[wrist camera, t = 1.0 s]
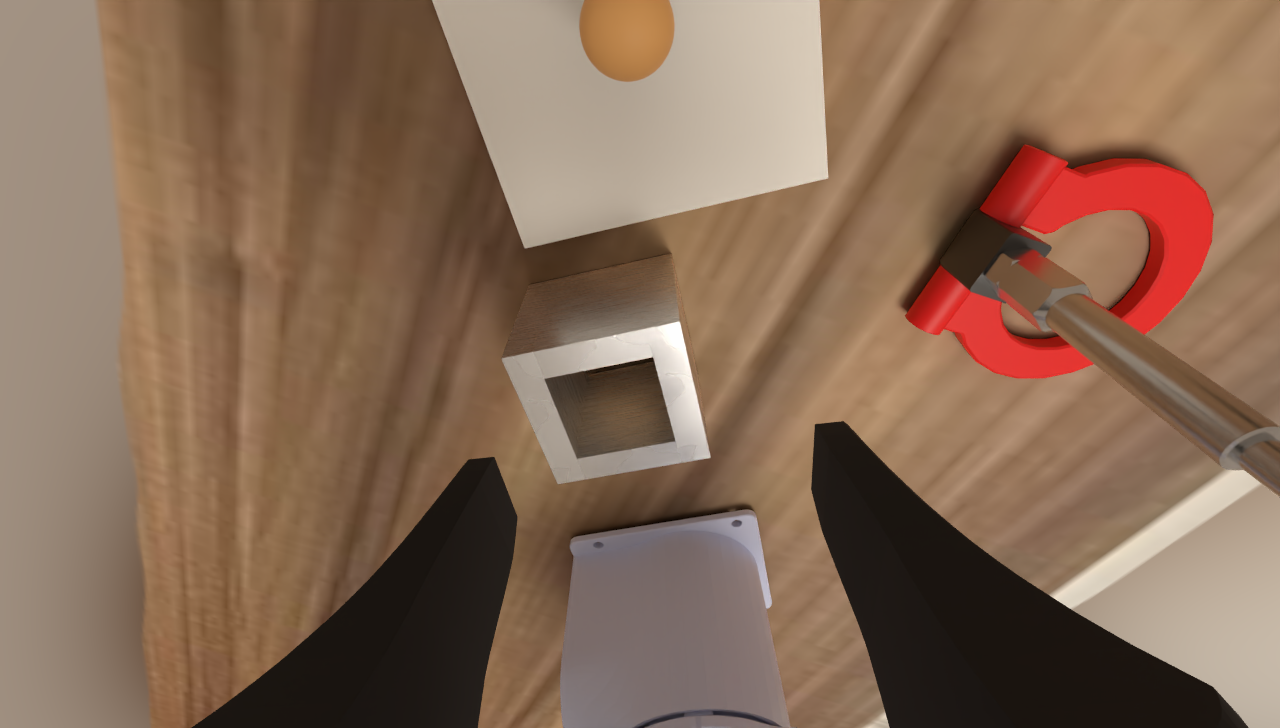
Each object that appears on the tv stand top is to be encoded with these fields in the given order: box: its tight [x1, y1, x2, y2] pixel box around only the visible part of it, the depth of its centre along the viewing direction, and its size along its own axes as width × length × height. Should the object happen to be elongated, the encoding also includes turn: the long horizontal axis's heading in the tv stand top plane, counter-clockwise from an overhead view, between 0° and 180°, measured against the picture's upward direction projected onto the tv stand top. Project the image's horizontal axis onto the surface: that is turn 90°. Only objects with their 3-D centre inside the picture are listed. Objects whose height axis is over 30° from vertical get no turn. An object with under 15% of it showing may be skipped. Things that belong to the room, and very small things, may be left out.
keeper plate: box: [432, 0, 828, 249], centre depth 13 cm, size 10×11×6 cm
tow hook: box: [905, 145, 1280, 497], centre depth 15 cm, size 8×13×9 cm
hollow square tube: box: [501, 253, 711, 484], centre depth 20 cm, size 5×5×5 cm
